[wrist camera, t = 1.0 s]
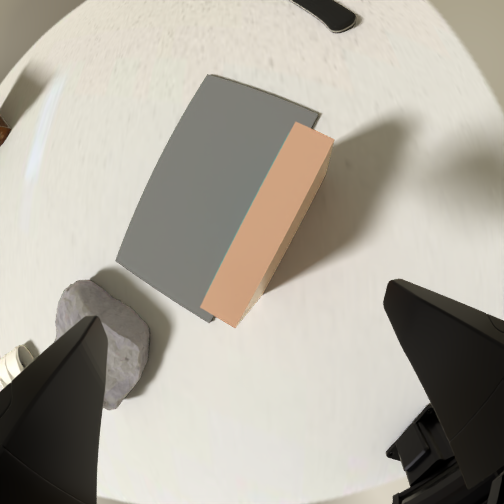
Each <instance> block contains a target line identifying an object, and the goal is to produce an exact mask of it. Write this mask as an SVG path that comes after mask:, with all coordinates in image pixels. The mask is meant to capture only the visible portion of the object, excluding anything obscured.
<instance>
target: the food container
mask: <svg viewBox="0 0 504 504" xmlns="http://www.w3.org/2000/svg"><path fill="white" fill-rule="evenodd" d="M10 130H11V128H10V126H9V125H8V124H7V122H6V121H5V119H4V118H3V117H2V115H1V114H0V146H1V145H2V144H3V143H4V141H5V140H6V138H7V136H8V134H9V132H10Z"/></svg>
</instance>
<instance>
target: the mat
mask: <svg viewBox="0 0 504 504" xmlns="http://www.w3.org/2000/svg"><path fill="white" fill-rule="evenodd" d="M317 117H318V114H317V113H315V112H312V111H310V110H308V109H306V108H303V107H301V106H298V105H296V104H294V103H291V102H289V101H286V100H284V99H281V98H278V97H276V96H273V95H270V94H268V93H265V92H262V91H259V90H256V89H254V88H251V87H248V86H245V85H242V84H239V83H235V82H232V81H229V80H226V79H222V78H219V77H215V76H212V75H208V74H207V76H206V78H205V79H204V81H203V82H202V84H201V85H200V87H199V89H198V90H197V92H196V94H195V95H194V97H193V98H192V100H191V102H190V104H189V105H188V107H187V109H186V110H185V112H184V114H183V116H182V117H181V119H180V121H179V123H178V124H177V126H176V128H175V130H174V132H173V134H172V135H171V137H170V139H169V141H168V143H167V145H166V147H165V149H164V151H163V152H162V154H161V156H160V158H159V160H158V162H157V164H156V166H155V168H154V171H153V173H152V175H151V177H150V179H149V181H148V183H147V185H146V187H145V190H144V192H143V194H142V196H141V198H140V201H139V203H138V205H137V208H136V210H135V212H134V215H133V217H132V219H131V222H130V224H129V227H128V229H127V232H126V234H125V237H124V239H123V242H122V244H121V247H120V250H119V252H118V255H117V258H116V260H115V261H116V262H118V263H119V264H120V265H122V266H123V267H125V268H126V269H127V270H129V271H130V272H132V273H133V274H135V275H136V276H137V277H139V278H140V279H142V280H143V281H145V282H146V283H148V284H149V285H150V286H152V287H153V288H155V289H156V290H158V291H159V292H161V293H162V294H164V295H165V296H167V297H169V298H170V299H172V300H173V301H175V302H176V303H178V304H179V305H181V306H182V307H184V308H186V309H187V310H189V311H190V312H192V313H194V314H195V315H197V316H198V317H200V318H202V319H203V320H205V321H207V322H208V323H210V322H211V320H212V319H213V317H214V315H212V314H210V313H209V312H207V311H205V310H204V309H202V308H200V306H201V304H202V302H203V300H204V298H205V296H206V295H205V294H206V292H207V290H208V288H209V286H210V284H211V282H212V280H213V278H214V276H215V274H216V272H217V270H218V268H219V266H220V264H221V262H222V260H223V258H224V256H225V254H226V252H227V250H228V248H229V246H230V244H231V242H232V240H233V238H234V236H235V234H236V232H237V230H238V228H239V227H240V225H241V223H242V221H243V219H244V217H245V215H246V213H247V211H248V209H249V207H250V205H251V203H252V201H253V199H254V197H255V195H256V194H257V192H258V190H259V188H260V186H261V184H262V182H263V180H264V178H265V176H266V174H267V173H268V171H269V169H270V167H271V165H272V163H273V161H274V159H275V157H276V156H277V154H278V152H279V150H280V148H281V146H282V144H283V142H284V141H285V139H286V137H287V135H288V133H290V131H291V129H292V127H293V125H294V124H295V122H298V123H300V124H302V125H305V126H307V127H309V128H312V126H313V124H314V122H315V121H316V119H317Z"/></svg>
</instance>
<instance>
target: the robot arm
mask: <svg viewBox="0 0 504 504" xmlns="http://www.w3.org/2000/svg"><path fill="white" fill-rule="evenodd" d="M383 305H384V309H385V311H386V313H387V316H388V318H389V320H390V322H391V324H392V327H393V329H394V331H395V333H396V336H397V338H398V340H399V342H400V344H401V346H402V348H403V350H404V352H405V354H406V356H407V357H408V359H409V361H410V363H411V365H412V367H413V369H414V371H415V372H416V374H417V376H418V378H419V380H420V382H421V384H422V386H423V388H424V390H425V392H426V394H427V396H428V398H429V400H430V402H431V404H432V405H429V406H427V407H426V408H425V409H424V410H423V411H422V412H421V414H420V415H419V416H418V417H417V418H416V420H415V421H414V422H413V423H412V424H411V425H410V427H409V428H408V429H407V430H406V431H405V432H404V433H403V434H402V435H401V436H400V438H399V439H398V440H397V441H396V442H395V443H394V444H393V445H392V446H391V447H390V448H389V449H388V450H387V451H386V456H387V457H388V458H392V459H395V460H398V461H401V463H402V466H403V469H404V471H406V475H407V478H408V481H409V485H410V488H408V489H406V490H404V491H403V492H401V493H397V494H396V495H394V496H393V503H392V504H504V321H503V320H501V319H499V318H496V317H494V316H491V315H489V314H486V313H484V312H482V311H479V310H477V309H475V308H472V307H470V306H467V305H465V304H463V303H460V302H458V301H455V300H453V299H450V298H448V297H445V296H443V295H440V294H438V293H436V292H433V291H431V290H428V289H426V288H423V287H420V286H418V285H415V284H413V283H410V282H408V281H405V280H403V279H395V280H391V281H389V283H388V285H387V289H386V293H385V297H384V301H383ZM107 353H108V338H107V335H106V332H105V330H104V327H103V325H102V322H101V320H100V318H99V317H98V316H97V315H90V316H85V317H83V318H82V319H81V320H80V321H79V322H77V323H76V324H75V325H74V326H73V327H71V328H70V329H69V330H68V331H67V332H66V333H64V334H63V335H62V336H61V337H60V338H59V339H57V340H56V341H55V342H54V343H53V344H52V345H51V346H49V347H48V348H47V349H46V350H45V351H44V352H43V353H42V354H40V355H39V356H38V357H37V358H36V359H35V360H34V361H33V362H32V363H30V364H29V365H28V366H27V367H26V368H25V369H24V370H23V371H22V372H21V373H20V374H18V375H17V376H16V377H15V378H14V379H13V380H12V381H11V383H9V384H8V385H7V386H6V387H5V388H4V389H3V390H2V391H1V392H0V504H97V502H96V501H97V463H98V448H99V436H100V426H101V417H102V409H103V401H104V394H105V386H106V368H107ZM429 410H430V411H429ZM428 411H429V412H428Z"/></svg>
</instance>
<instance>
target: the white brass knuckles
mask: <svg viewBox="0 0 504 504" xmlns="http://www.w3.org/2000/svg"><path fill="white" fill-rule="evenodd" d="M33 361H34V358H33V356H32V354H31V353H30V351H29V350H28V349H27V348H26V347H25V346H24V345H19V346H17V347H15V349H14V350H12V351H11V352H9V353H8V354H6V355H4V357H2V358H1V359H0V384H1V386H2V388H3V389H4V388H5V387H6V386H7V385H8V384H9V383H11V381H12V380H13V379H14V378H15V377H16V376H17V375H18V374H20V373H21V372H22V371H23V370H24V369H25V368H26V367H27V366H28V365H29V364H30V363H32V362H33ZM21 363H24V364H23V366H22V365H21Z"/></svg>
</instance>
